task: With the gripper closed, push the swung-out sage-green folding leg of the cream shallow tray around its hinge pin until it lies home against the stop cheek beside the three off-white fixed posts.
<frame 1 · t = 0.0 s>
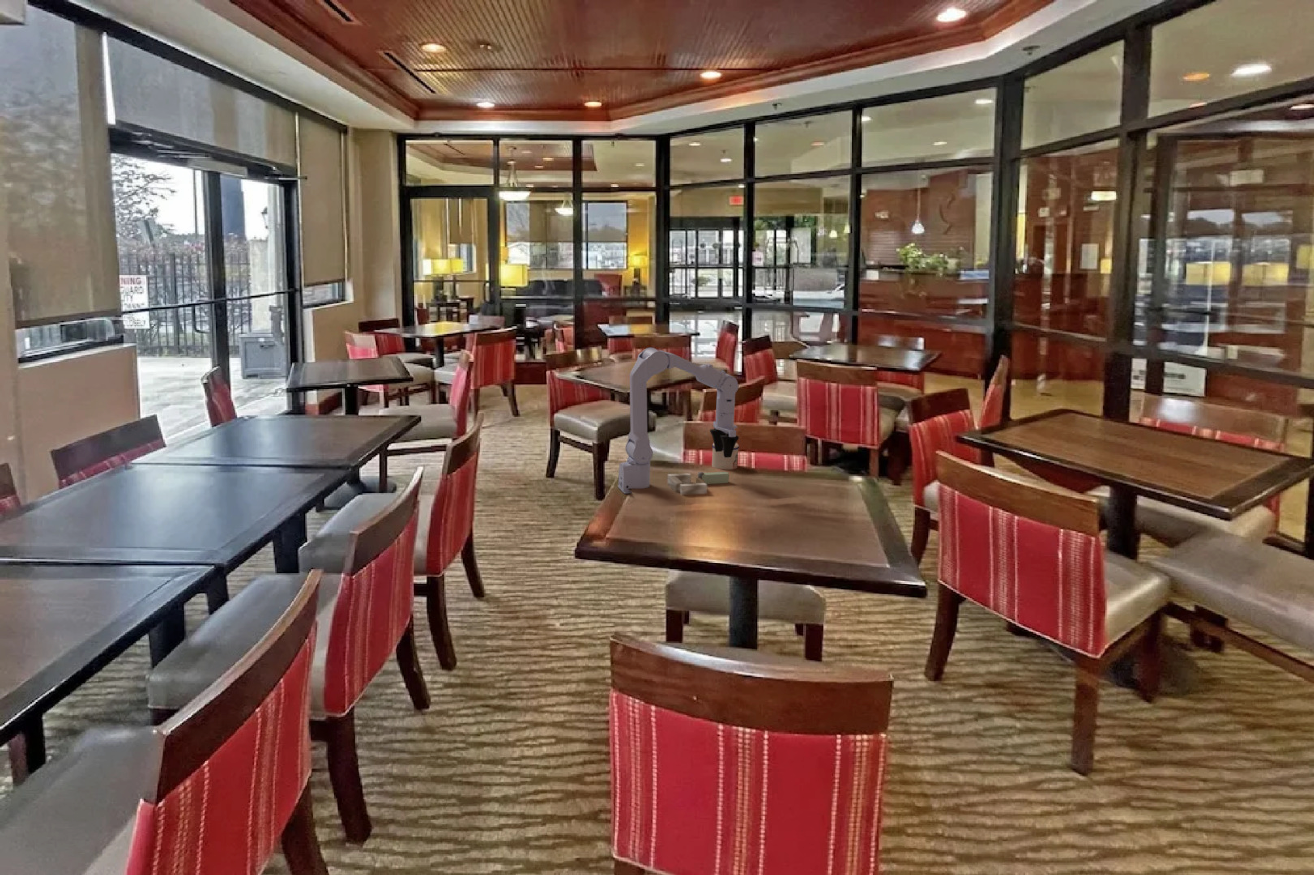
hand: (723, 454, 286), 10 cm above the table, fingers open, 7 cm apart
teacup with lid: (724, 469, 307), on the table
green leg: (712, 477, 285), point 3 cm above the table, hinge at 90.0°
cream shallow tray: (692, 492, 279), on the table
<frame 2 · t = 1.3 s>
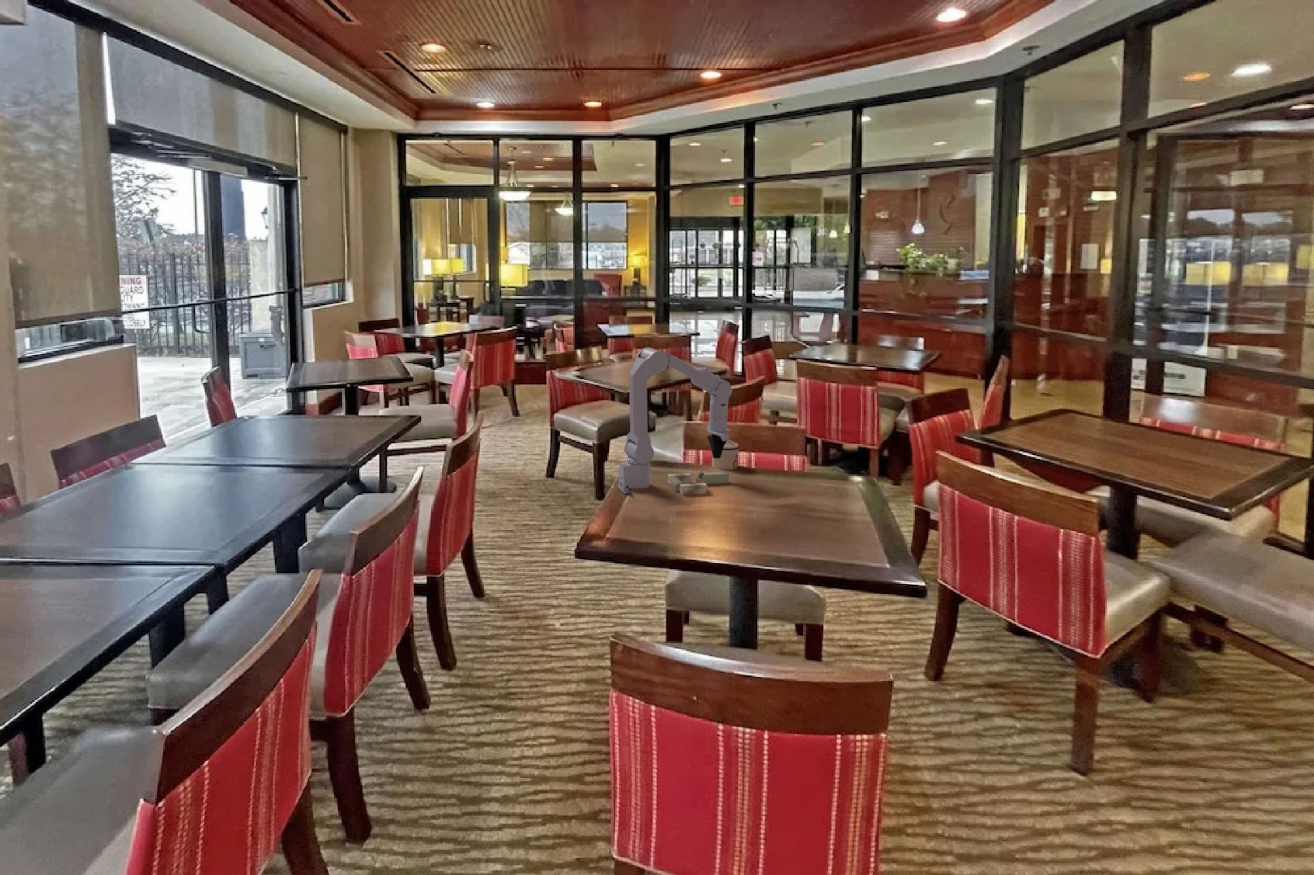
hand: (716, 457, 289), 8 cm above the table, fingers closed
nothing on the table moved.
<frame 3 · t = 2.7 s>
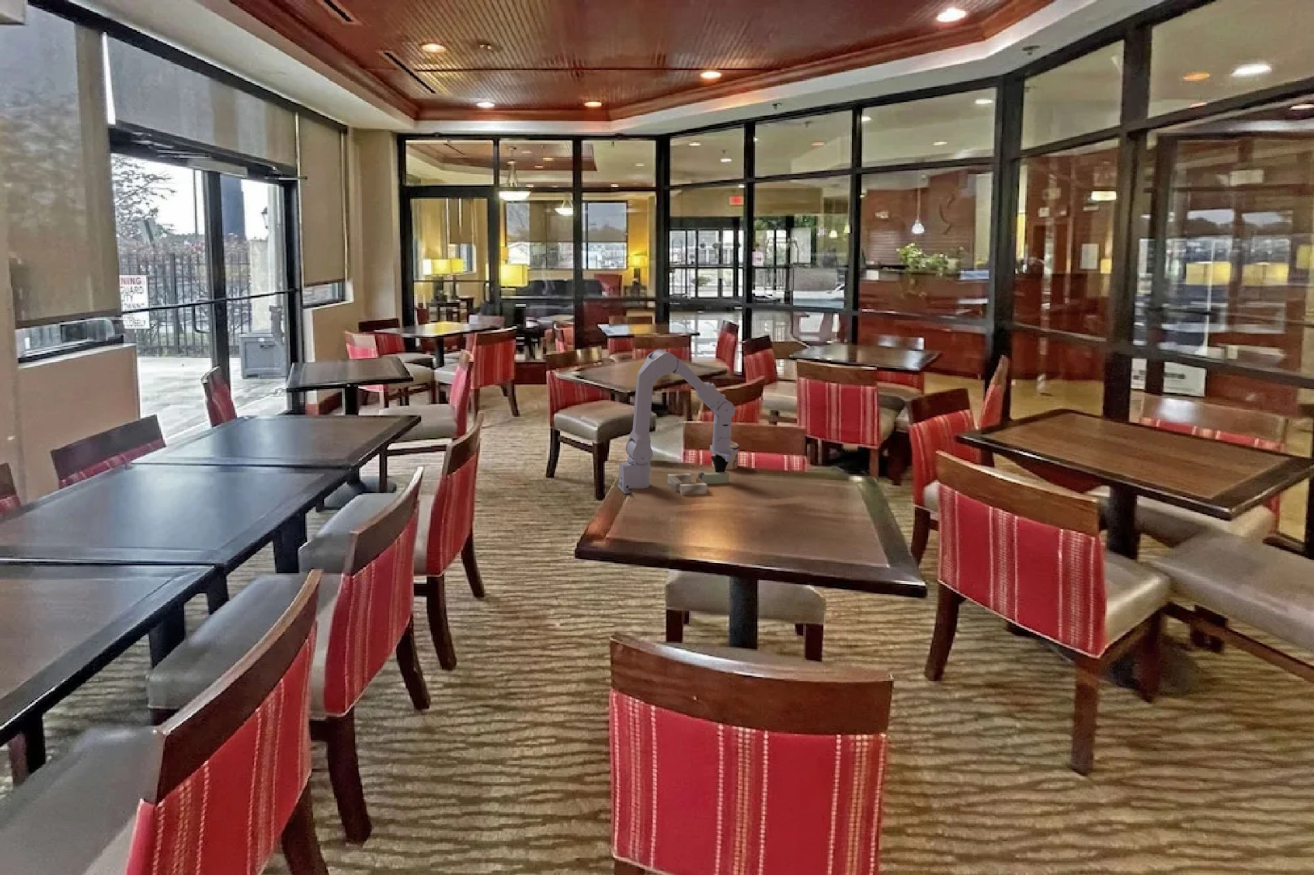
hand: (719, 478, 287), 2 cm above the table, fingers closed, pressing on green leg
green leg: (712, 477, 285), point 3 cm above the table, hinge at 89.4°, touching gripper
everything else where it was.
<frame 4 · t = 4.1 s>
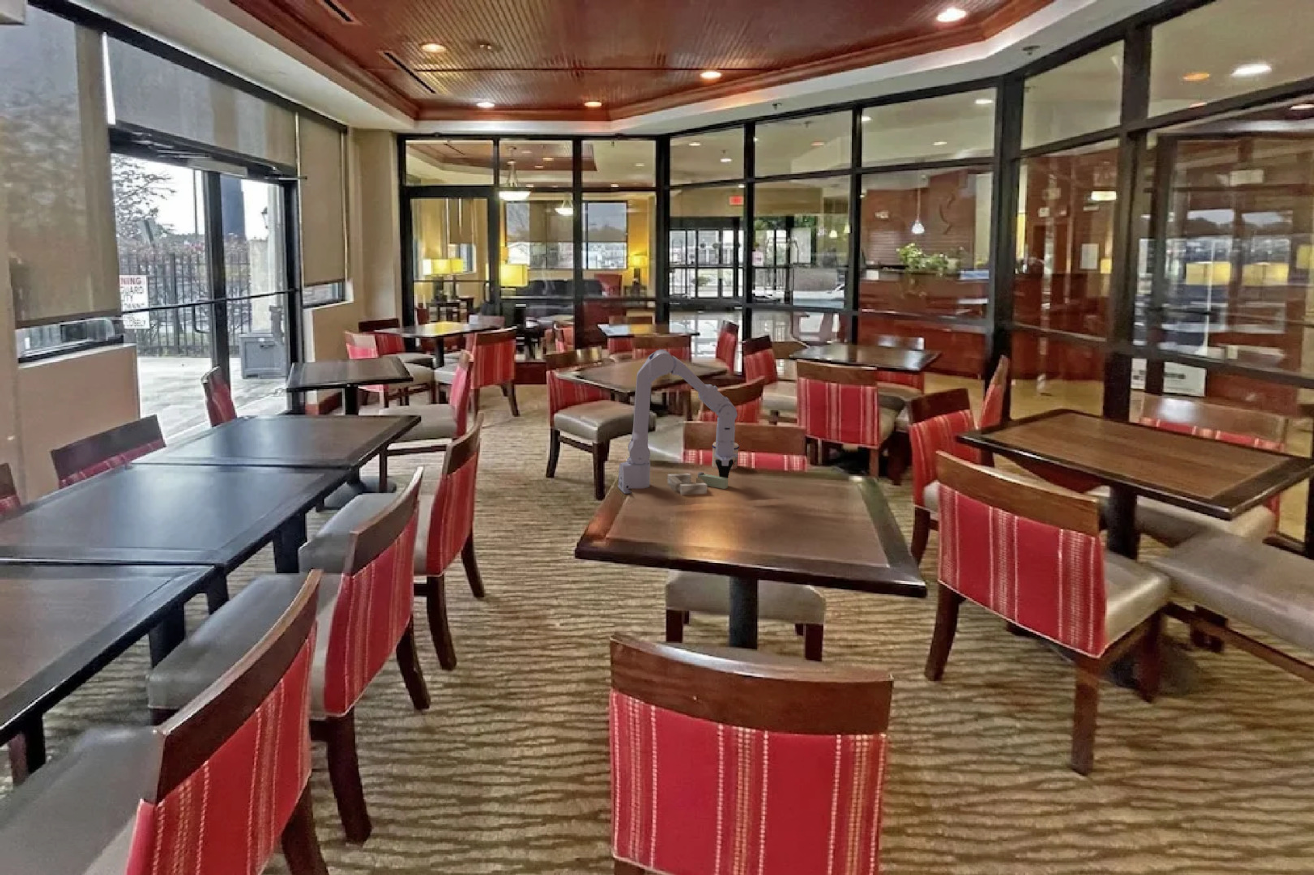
hand: (723, 482, 282), 2 cm above the table, fingers closed, pressing on green leg
green leg: (712, 480, 281), point 3 cm above the table, hinge at 40.8°, touching gripper
everything else where it was.
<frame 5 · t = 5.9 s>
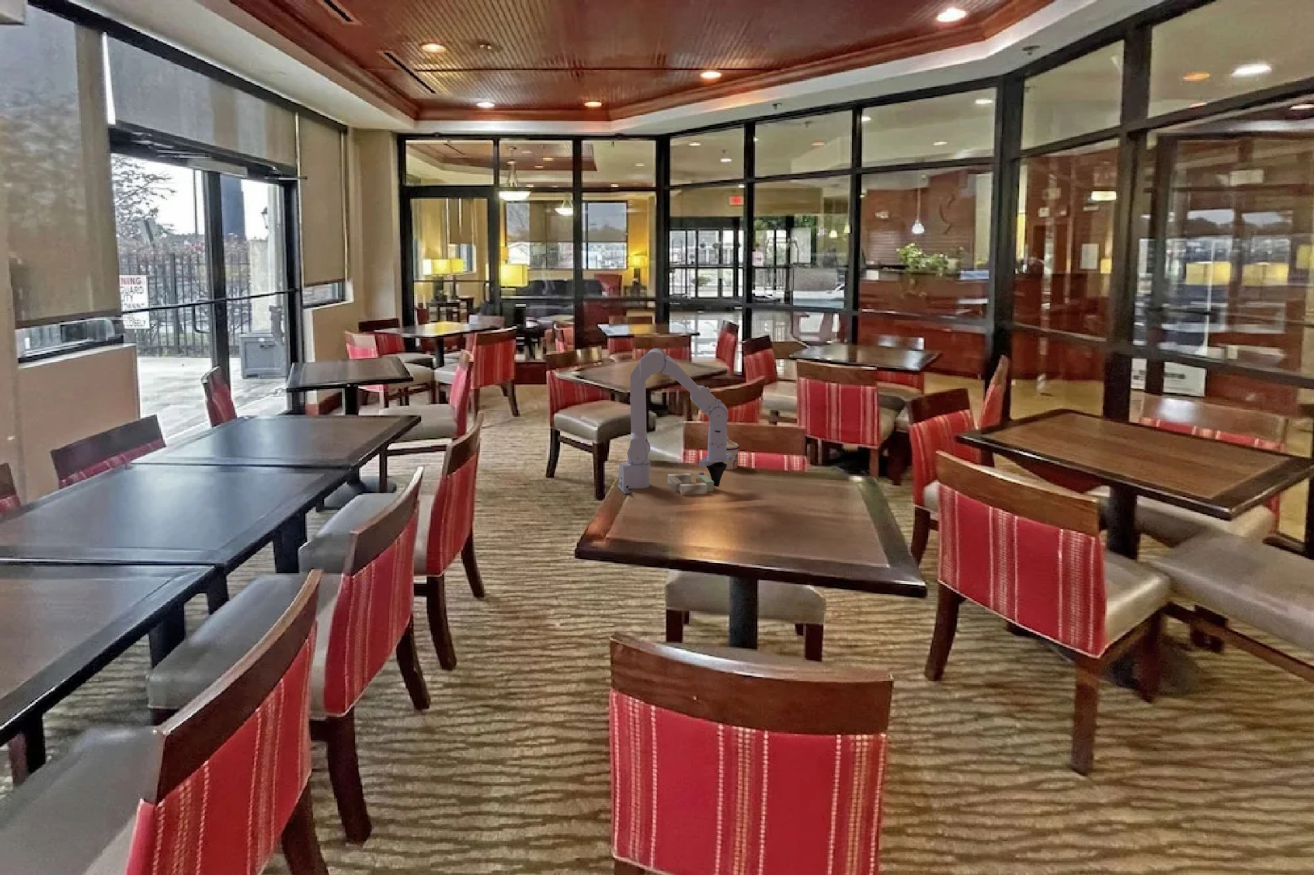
hand: (715, 485, 278), 2 cm above the table, fingers closed
green leg: (704, 481, 280), point 3 cm above the table, hinge at -2.1°, touching gripper
everything else where it was.
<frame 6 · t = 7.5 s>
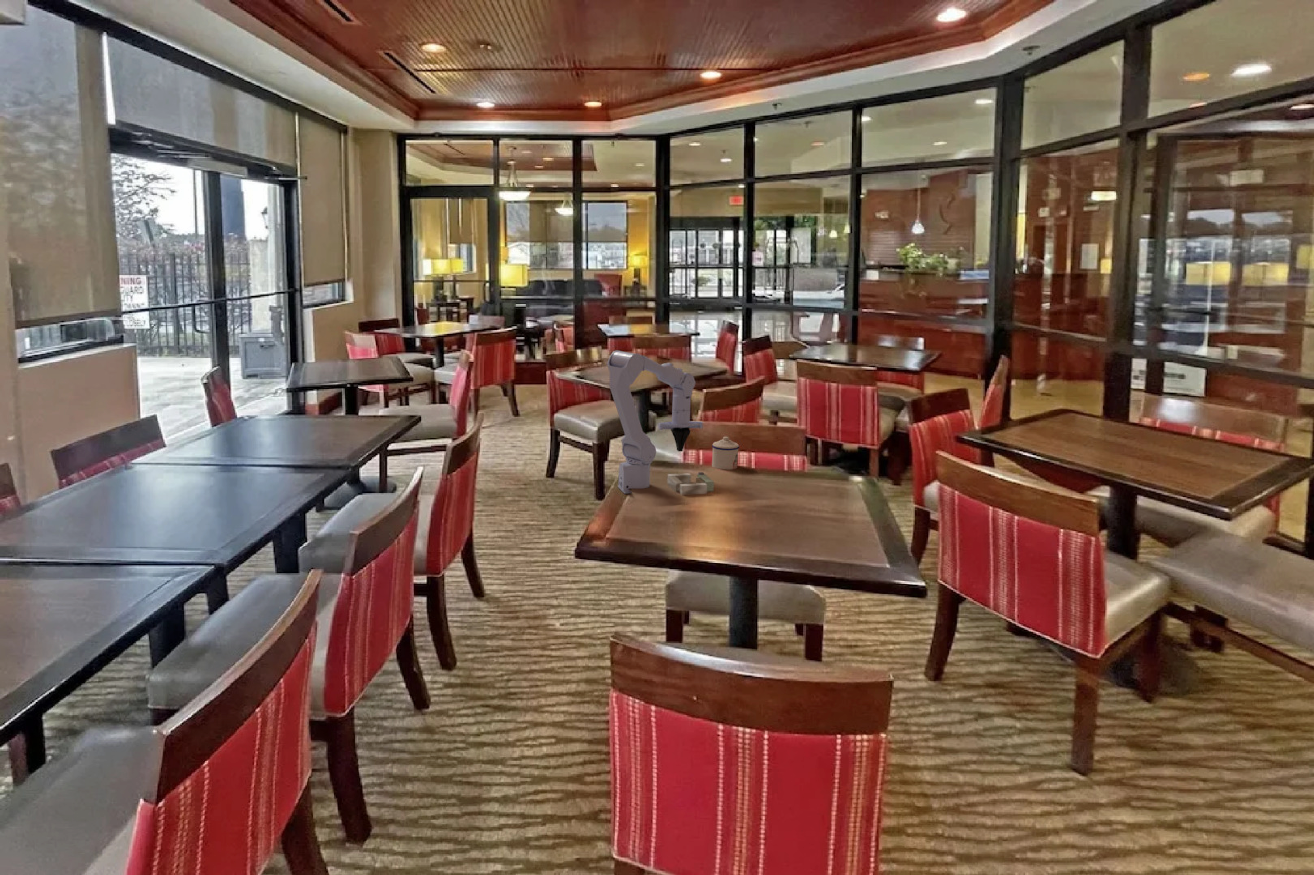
hand: (679, 450, 290), 10 cm above the table, fingers closed
green leg: (704, 481, 280), point 3 cm above the table, hinge at -2.1°
everything else where it was.
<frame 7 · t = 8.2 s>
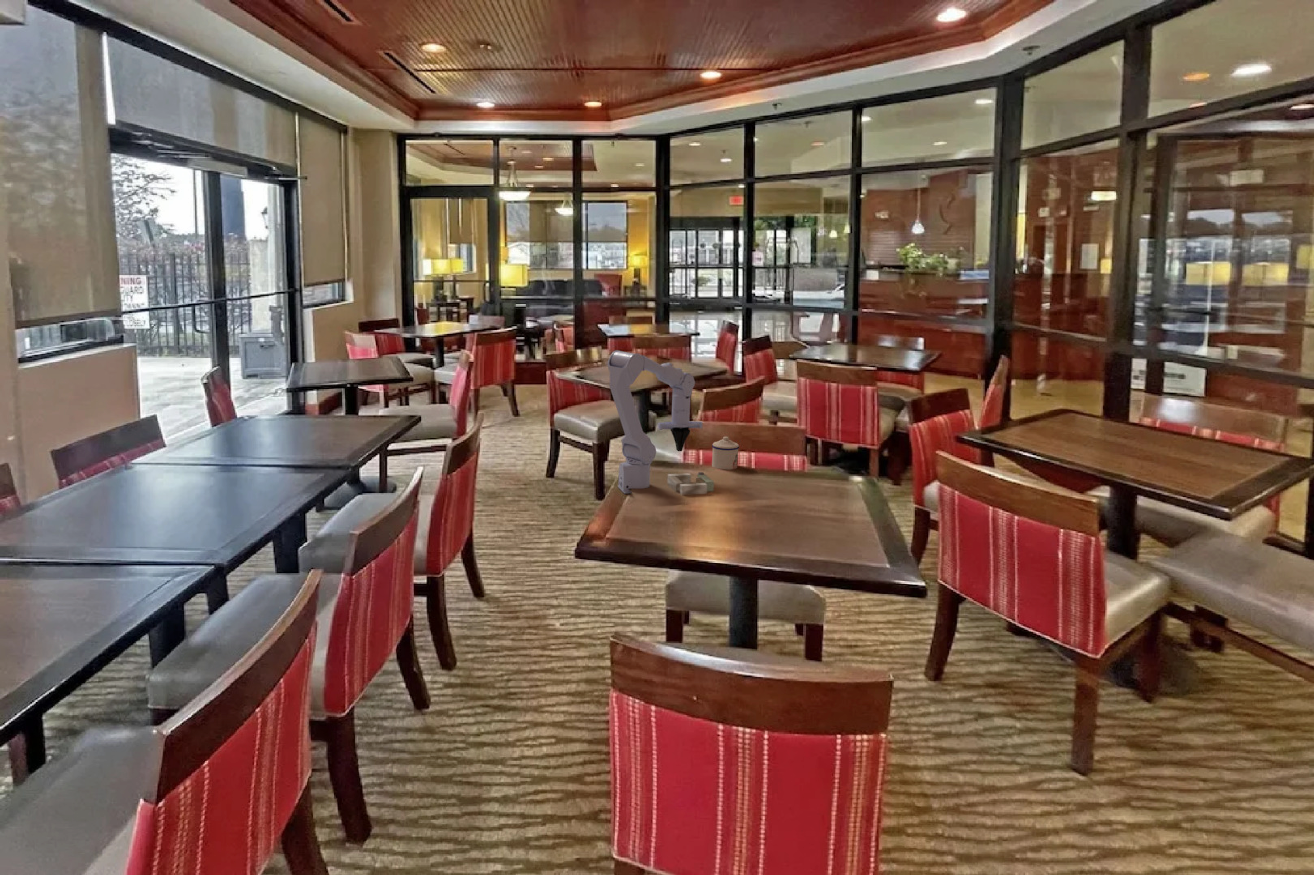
hand: (679, 450, 290), 10 cm above the table, fingers closed
nothing on the table moved.
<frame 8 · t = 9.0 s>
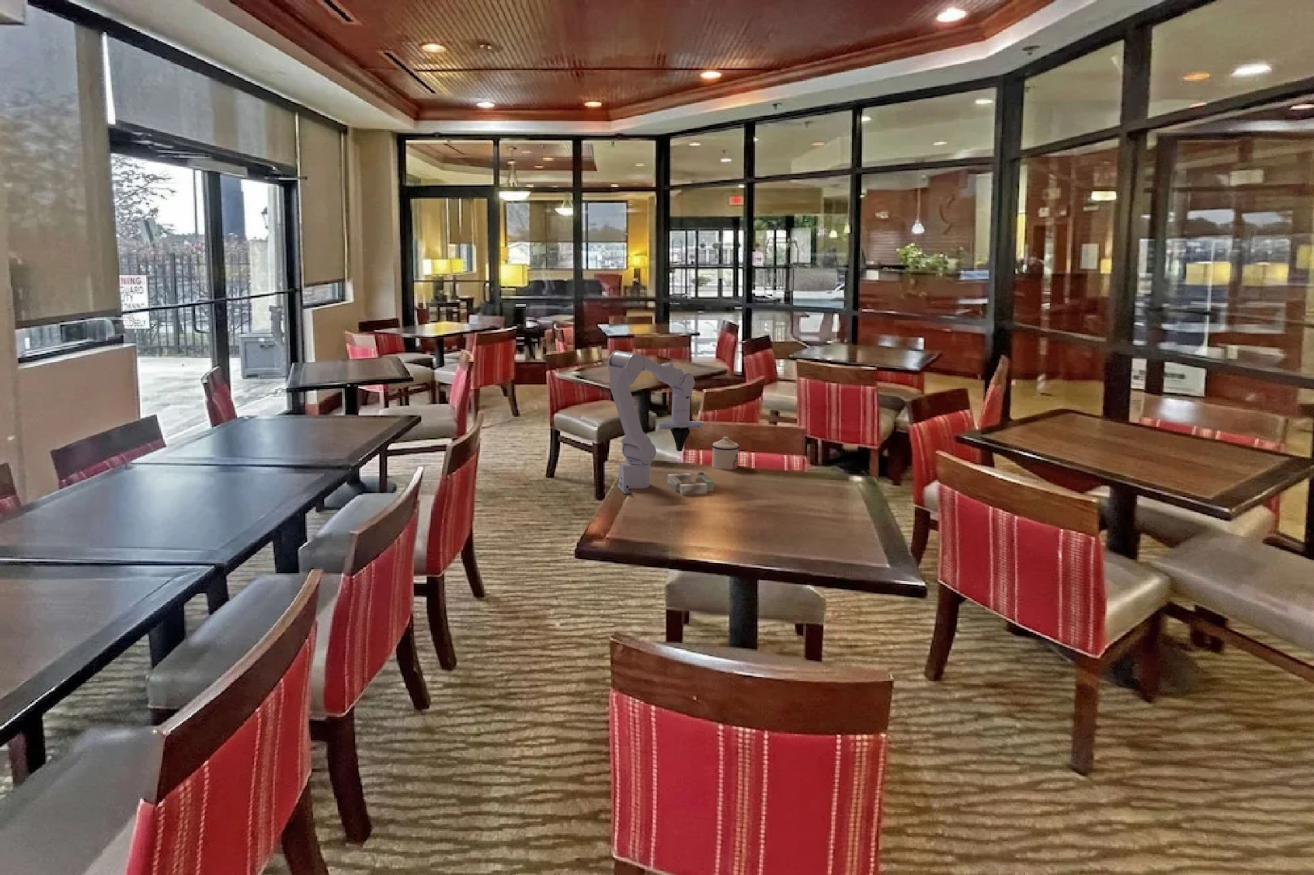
hand: (679, 450, 290), 10 cm above the table, fingers closed
nothing on the table moved.
at the end: green leg at -2° (first picture: +90°) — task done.
